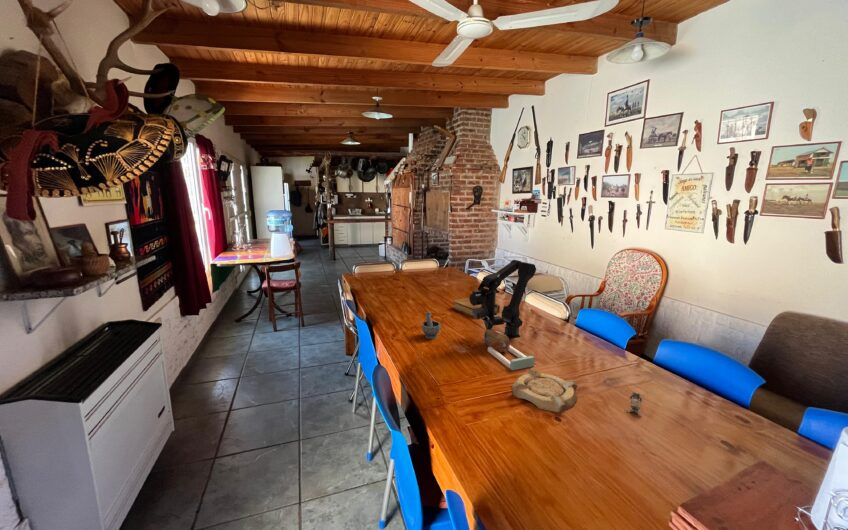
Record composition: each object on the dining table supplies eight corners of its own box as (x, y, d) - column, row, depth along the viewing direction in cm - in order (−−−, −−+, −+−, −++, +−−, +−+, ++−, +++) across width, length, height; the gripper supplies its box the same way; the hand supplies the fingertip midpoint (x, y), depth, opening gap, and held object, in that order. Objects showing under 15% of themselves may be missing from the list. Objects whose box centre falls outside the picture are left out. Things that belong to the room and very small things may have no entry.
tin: (483, 343, 170) (484, 327, 169) (488, 342, 172) (488, 326, 170) (505, 355, 158) (506, 337, 156) (510, 353, 159) (511, 336, 158)
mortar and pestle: (442, 339, 175) (443, 316, 173) (425, 341, 173) (425, 318, 171) (435, 331, 186) (435, 309, 184) (419, 333, 183) (418, 311, 181)
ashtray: (546, 421, 112) (547, 407, 111) (498, 386, 132) (498, 374, 132) (594, 401, 123) (596, 388, 122) (543, 372, 143) (544, 361, 142)
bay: (507, 347, 166) (508, 339, 165) (533, 365, 148) (534, 357, 147) (487, 351, 162) (488, 343, 161) (512, 370, 144) (512, 361, 143)
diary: (499, 313, 216) (500, 304, 215) (477, 319, 205) (478, 310, 204) (474, 304, 234) (474, 296, 233) (452, 309, 224) (453, 300, 222)
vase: (625, 403, 121) (629, 388, 120) (643, 410, 118) (647, 395, 116) (623, 410, 117) (626, 395, 115) (641, 418, 113) (645, 402, 112)
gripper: (465, 298, 174) (465, 327, 177) (484, 309, 157) (483, 342, 160) (485, 296, 178) (484, 325, 181) (505, 307, 161) (504, 338, 164)
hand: (488, 332), depth 171 cm, fingers closed
